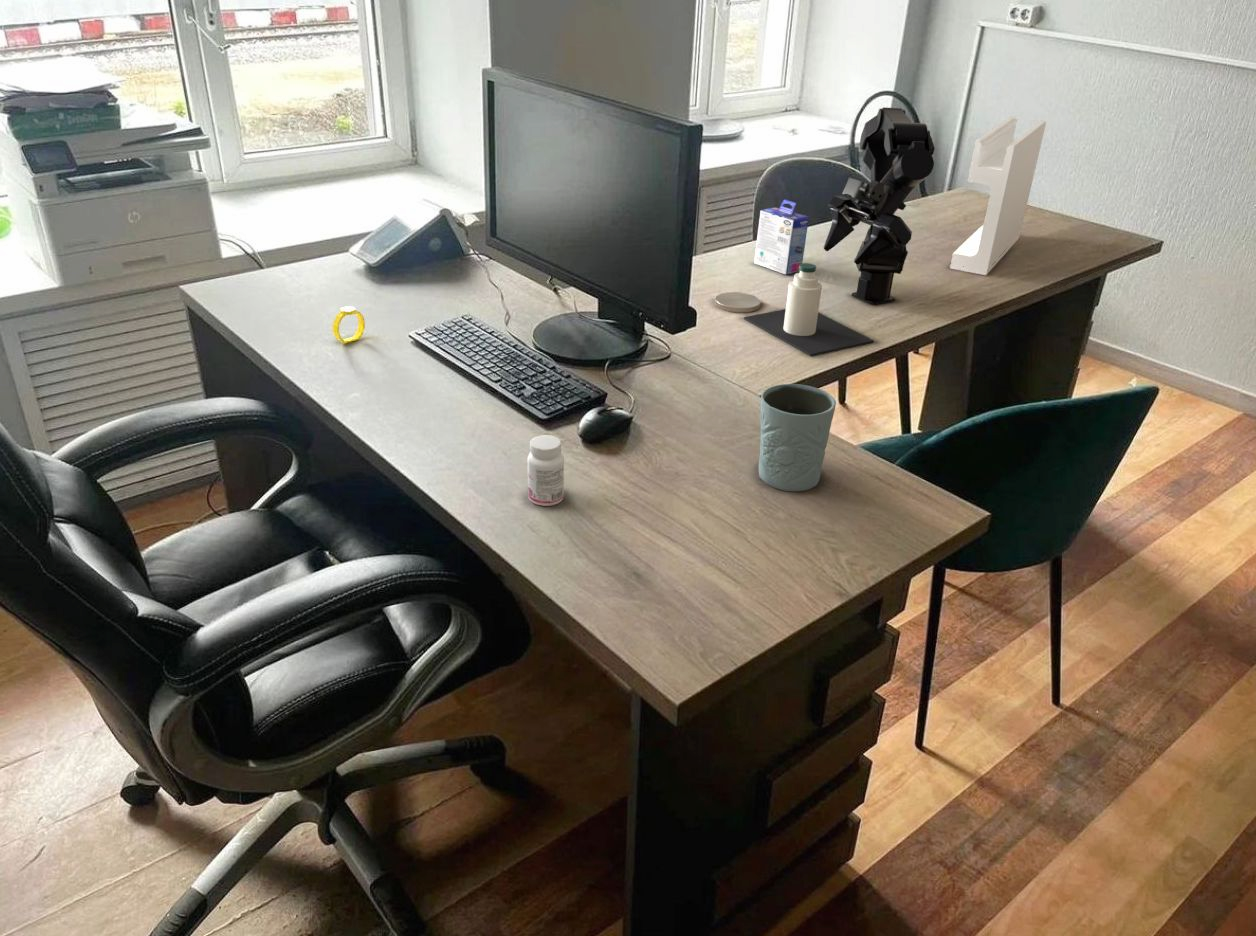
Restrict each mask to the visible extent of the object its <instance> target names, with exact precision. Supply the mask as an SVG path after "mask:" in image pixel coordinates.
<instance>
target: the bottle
mask: <svg viewBox="0 0 1256 936" xmlns="http://www.w3.org/2000/svg"><path fill="white" fill-rule="evenodd" d="M799 270H800V272H796V273H794V275H793V279H792V280H790V281H788V288H787V296H786V306H785V309H786V311H785V320H784V328H783V329H784V331H785V332H787V333H789V334H792V335H797V336H809V335H813V334H814V333H815V332H816V325H817V317H818V313H819V309H820V302H821V297H822V296H821V294H822V289H823V286H822V284H821V283H820V282H819V275H817V274H815V272H816V271H817V266H816V264H814V263H808V262H804V263H802V264H800V265H799Z"/></svg>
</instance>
